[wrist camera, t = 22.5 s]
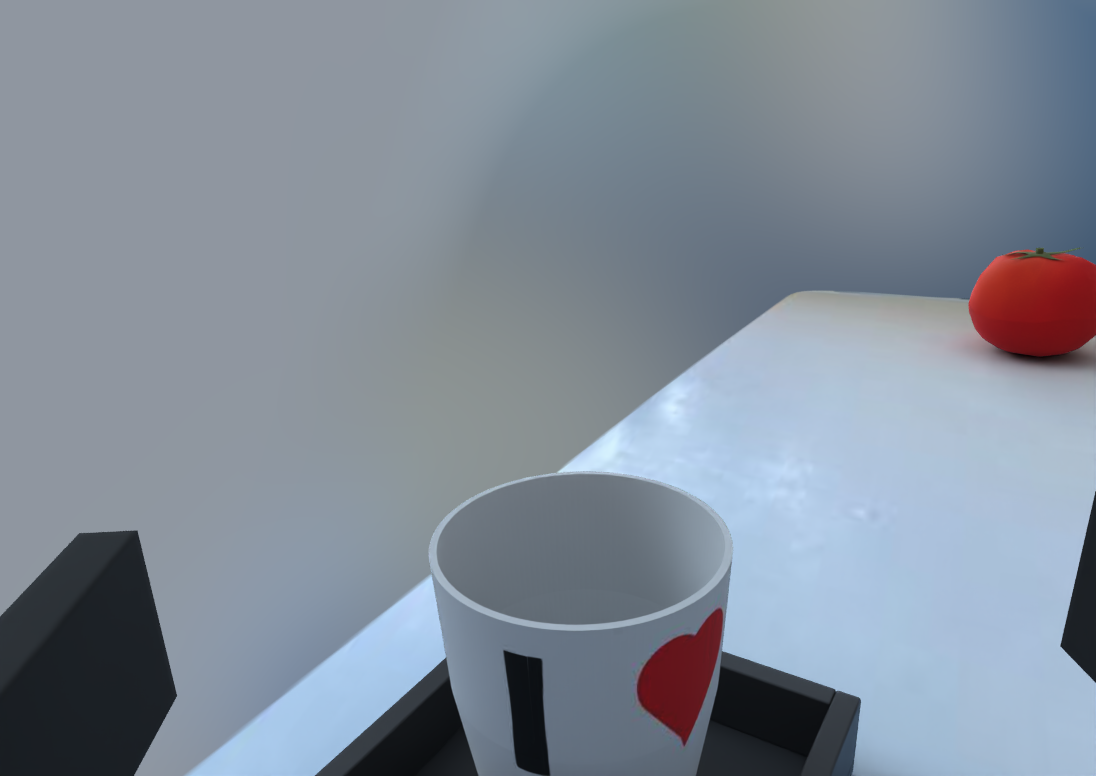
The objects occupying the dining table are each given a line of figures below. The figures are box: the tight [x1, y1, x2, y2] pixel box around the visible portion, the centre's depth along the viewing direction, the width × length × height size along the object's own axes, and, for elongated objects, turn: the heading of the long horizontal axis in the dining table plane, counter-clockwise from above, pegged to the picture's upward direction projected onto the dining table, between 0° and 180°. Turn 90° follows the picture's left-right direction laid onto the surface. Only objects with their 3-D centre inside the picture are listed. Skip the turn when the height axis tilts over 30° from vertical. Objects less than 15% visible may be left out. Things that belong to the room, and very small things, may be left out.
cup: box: [429, 472, 733, 776], centre depth 24 cm, size 8×8×10 cm
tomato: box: [969, 248, 1096, 357], centre depth 66 cm, size 9×10×8 cm
